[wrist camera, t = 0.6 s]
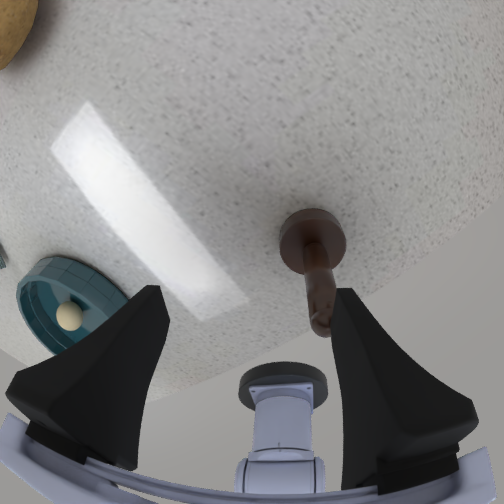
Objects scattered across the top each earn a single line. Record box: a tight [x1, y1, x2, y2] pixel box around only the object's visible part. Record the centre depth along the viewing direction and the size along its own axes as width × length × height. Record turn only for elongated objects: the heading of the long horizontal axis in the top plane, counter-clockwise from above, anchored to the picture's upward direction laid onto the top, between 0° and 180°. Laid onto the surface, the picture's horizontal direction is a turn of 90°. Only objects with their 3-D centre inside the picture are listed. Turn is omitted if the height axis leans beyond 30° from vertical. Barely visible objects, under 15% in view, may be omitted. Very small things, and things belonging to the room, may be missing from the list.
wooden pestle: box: [279, 209, 346, 338], centre depth 16 cm, size 4×4×9 cm
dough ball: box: [56, 301, 83, 331], centre depth 24 cm, size 3×3×3 cm
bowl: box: [16, 257, 129, 355], centre depth 25 cm, size 15×15×4 cm
